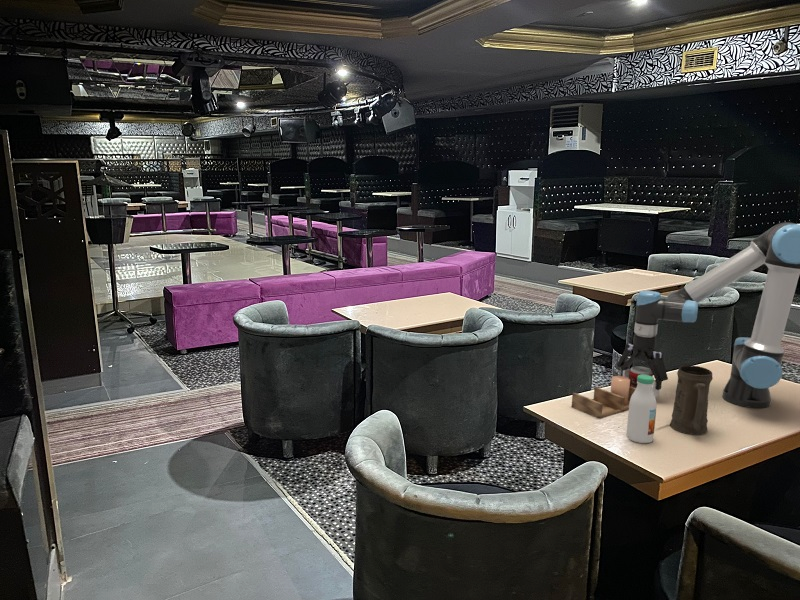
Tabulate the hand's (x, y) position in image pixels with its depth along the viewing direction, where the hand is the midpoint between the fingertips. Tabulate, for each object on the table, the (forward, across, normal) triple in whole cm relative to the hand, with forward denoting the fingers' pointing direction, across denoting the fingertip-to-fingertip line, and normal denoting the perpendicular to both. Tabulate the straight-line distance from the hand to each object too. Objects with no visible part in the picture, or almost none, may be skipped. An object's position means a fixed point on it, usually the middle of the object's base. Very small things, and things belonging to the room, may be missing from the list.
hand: (639, 392), depth 215 cm
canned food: (+3, 0, 0) cm, 3 cm away
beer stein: (+3, +27, -10) cm, 29 cm away
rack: (+2, +1, -18) cm, 18 cm away
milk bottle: (+3, +22, -29) cm, 36 cm away
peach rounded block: (+1, +1, -12) cm, 13 cm away
